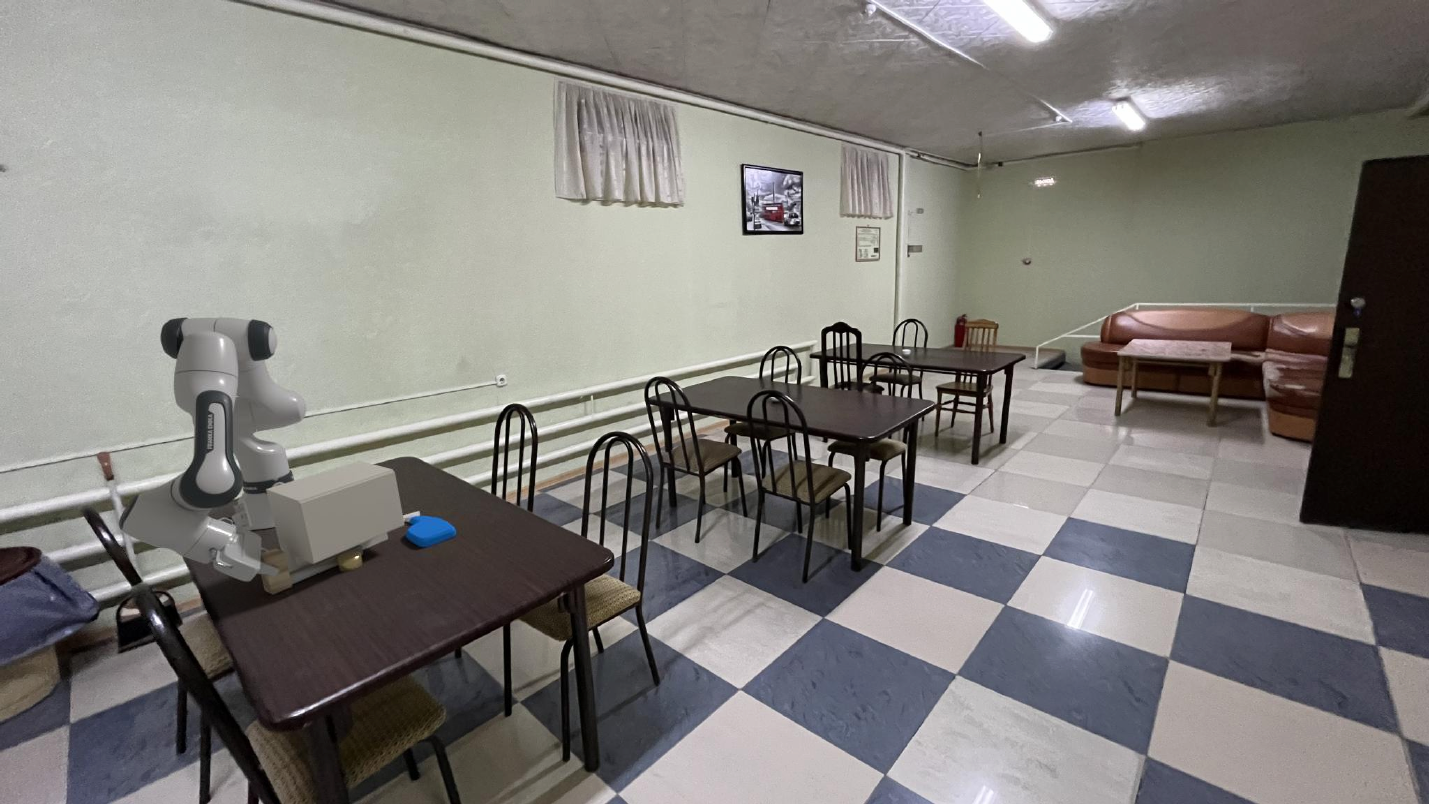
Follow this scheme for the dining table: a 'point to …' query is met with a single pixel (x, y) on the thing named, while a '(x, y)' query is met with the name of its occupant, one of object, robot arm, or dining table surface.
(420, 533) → the spray bottle
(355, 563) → the brass puck
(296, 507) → the cabinet
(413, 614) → the dining table surface
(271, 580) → the wooden handled saw
